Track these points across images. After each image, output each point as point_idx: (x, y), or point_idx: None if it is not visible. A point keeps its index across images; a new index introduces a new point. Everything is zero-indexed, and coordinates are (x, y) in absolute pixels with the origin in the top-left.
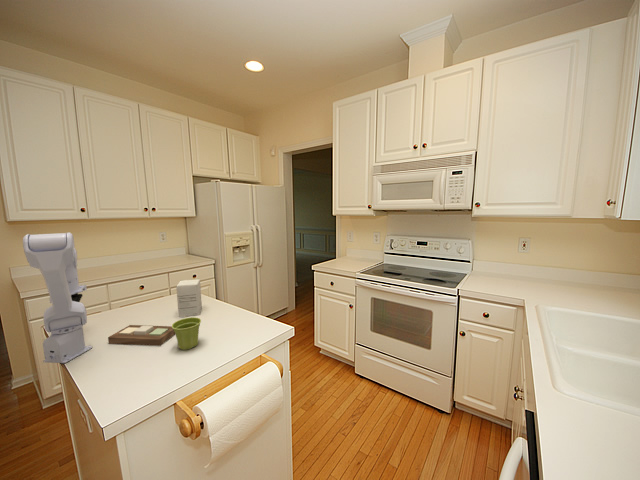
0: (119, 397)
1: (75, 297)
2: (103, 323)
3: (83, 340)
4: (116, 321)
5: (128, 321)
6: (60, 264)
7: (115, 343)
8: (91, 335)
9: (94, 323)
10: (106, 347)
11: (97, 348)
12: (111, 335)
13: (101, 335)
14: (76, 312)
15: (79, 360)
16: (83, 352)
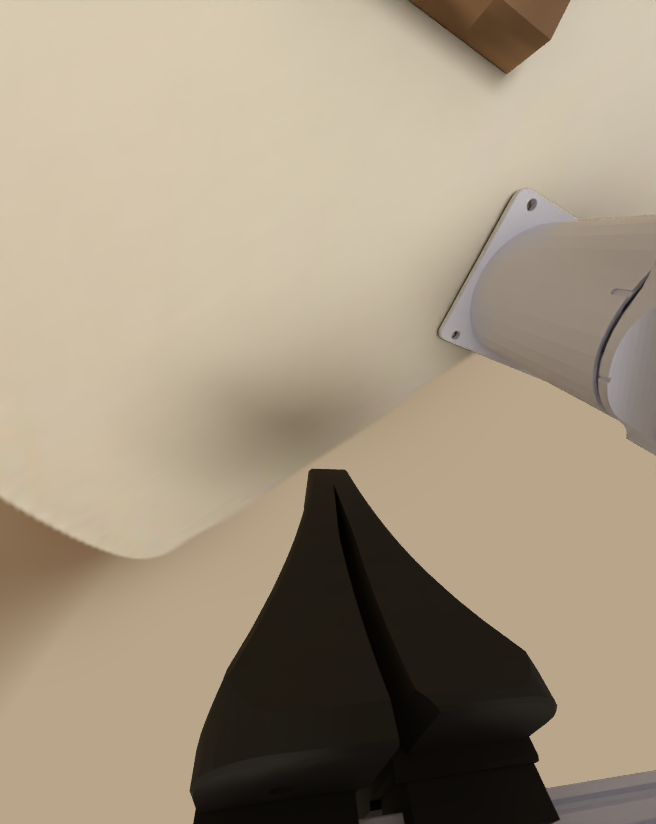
0: None
1: (459, 719)
2: (92, 327)
3: (604, 219)
4: (40, 230)
5: (22, 77)
6: None
7: None
8: (298, 307)
9: (96, 390)
10: (566, 63)
11: (540, 145)
12: (524, 11)
13: (318, 229)
14: None
15: (649, 194)
16: (571, 215)
